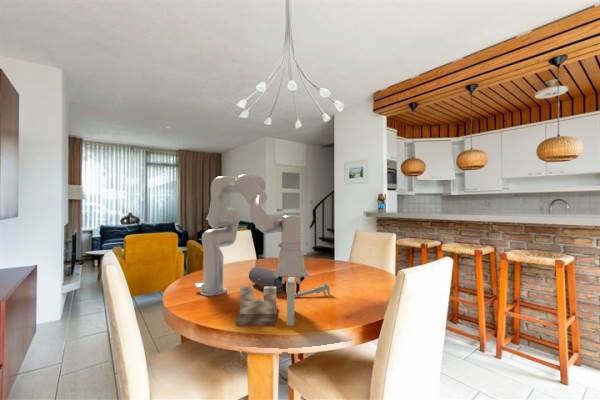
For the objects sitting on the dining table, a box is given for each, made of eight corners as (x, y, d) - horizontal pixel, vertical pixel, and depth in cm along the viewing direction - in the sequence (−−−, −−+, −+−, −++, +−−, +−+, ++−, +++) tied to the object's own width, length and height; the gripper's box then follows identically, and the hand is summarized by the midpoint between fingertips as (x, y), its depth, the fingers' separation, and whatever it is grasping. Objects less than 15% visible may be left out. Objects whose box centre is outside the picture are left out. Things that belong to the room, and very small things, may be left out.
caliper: (328, 295, 138) (328, 282, 138) (329, 295, 137) (329, 282, 137) (288, 298, 133) (288, 284, 133) (288, 298, 132) (288, 285, 132)
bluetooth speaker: (247, 285, 152) (247, 267, 152) (261, 282, 159) (261, 264, 159) (272, 296, 135) (272, 275, 135) (287, 292, 142) (287, 272, 142)
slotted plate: (293, 325, 103) (293, 287, 103) (287, 325, 103) (287, 287, 103) (294, 310, 117) (294, 277, 117) (288, 310, 117) (288, 277, 117)
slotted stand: (236, 325, 103) (236, 294, 103) (244, 308, 119) (244, 281, 119) (274, 325, 103) (274, 294, 103) (277, 308, 119) (277, 281, 119)
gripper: (268, 248, 106) (268, 296, 106) (313, 248, 106) (312, 296, 106) (270, 245, 114) (270, 290, 114) (312, 245, 114) (312, 290, 114)
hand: (291, 292), depth 110 cm, fingers open, 4 cm apart
